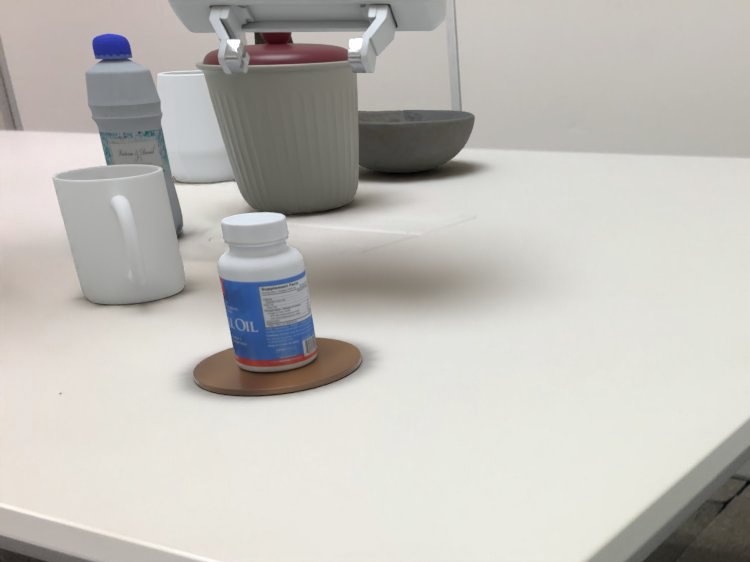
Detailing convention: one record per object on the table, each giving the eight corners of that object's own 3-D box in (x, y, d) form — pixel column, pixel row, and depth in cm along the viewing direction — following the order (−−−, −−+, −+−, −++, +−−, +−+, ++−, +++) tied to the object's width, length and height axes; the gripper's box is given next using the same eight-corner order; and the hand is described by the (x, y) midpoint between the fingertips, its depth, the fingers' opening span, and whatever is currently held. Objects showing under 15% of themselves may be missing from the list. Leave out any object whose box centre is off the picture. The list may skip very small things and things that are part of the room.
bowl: (303, 172, 147) (294, 113, 144) (428, 156, 160) (422, 102, 156) (376, 189, 133) (368, 125, 129) (506, 171, 145) (502, 112, 142)
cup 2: (278, 170, 149) (261, 68, 143) (229, 186, 137) (209, 75, 131) (195, 169, 151) (175, 68, 145) (140, 184, 139) (116, 76, 133)
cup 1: (179, 275, 93) (154, 161, 89) (203, 305, 84) (177, 179, 79) (79, 288, 89) (48, 170, 85) (93, 322, 80) (59, 191, 76)
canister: (221, 200, 127) (186, 16, 118) (367, 189, 133) (345, 13, 124) (226, 227, 112) (186, 19, 103) (390, 213, 118) (366, 15, 109)
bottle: (119, 247, 104) (69, 35, 95) (120, 235, 110) (73, 33, 101) (189, 240, 107) (146, 33, 98) (187, 228, 112) (146, 31, 103)
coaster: (179, 402, 64) (177, 396, 64) (209, 348, 74) (208, 343, 73) (358, 387, 66) (357, 381, 66) (364, 337, 76) (364, 332, 75)
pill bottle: (223, 361, 70) (194, 217, 66) (296, 343, 73) (273, 206, 69) (257, 380, 66) (228, 230, 62) (333, 361, 69) (310, 217, 65)
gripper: (168, -113, 75) (132, 36, 70) (441, -117, 74) (423, 33, 70) (205, -43, 81) (175, 98, 76) (458, -46, 80) (443, 97, 76)
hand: (295, 67), depth 73 cm, fingers open, 8 cm apart
